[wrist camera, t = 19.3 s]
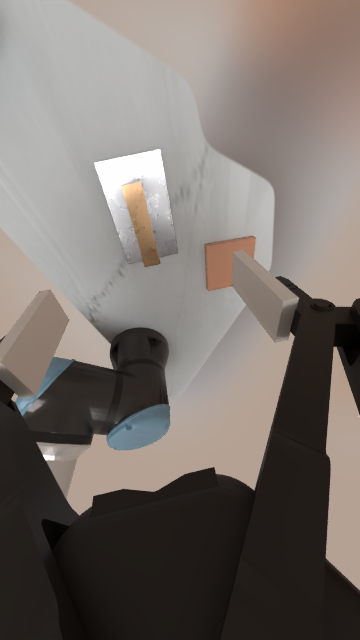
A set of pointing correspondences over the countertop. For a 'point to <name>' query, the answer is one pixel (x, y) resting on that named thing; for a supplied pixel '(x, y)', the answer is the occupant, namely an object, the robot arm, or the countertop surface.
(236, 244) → the tile
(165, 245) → the trowel
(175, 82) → the countertop surface
